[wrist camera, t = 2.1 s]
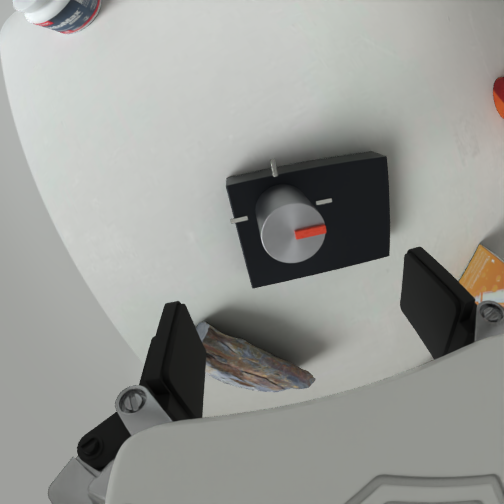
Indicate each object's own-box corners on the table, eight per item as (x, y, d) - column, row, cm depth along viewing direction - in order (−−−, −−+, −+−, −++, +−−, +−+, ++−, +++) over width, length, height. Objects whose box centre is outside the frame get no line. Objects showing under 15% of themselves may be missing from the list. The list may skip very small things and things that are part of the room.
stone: (159, 365, 32) (191, 341, 26) (170, 334, 36) (203, 302, 30) (268, 407, 37) (318, 392, 31) (271, 379, 41) (319, 359, 35)
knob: (261, 239, 25) (268, 271, 20) (250, 190, 23) (255, 212, 18) (311, 228, 24) (329, 257, 20) (303, 179, 22) (323, 198, 18)
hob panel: (247, 272, 30) (249, 290, 27) (219, 164, 24) (217, 171, 22) (377, 243, 29) (390, 256, 26) (370, 137, 24) (386, 142, 21)
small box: (478, 242, 30) (539, 293, 19) (496, 254, 31) (549, 301, 20) (451, 290, 33) (502, 349, 22) (471, 297, 35) (517, 350, 23)
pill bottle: (56, 42, 17) (1, 29, 9) (59, 2, 14) (10, -19, 6) (102, 24, 17) (53, -2, 9) (104, -17, 14) (63, -50, 6)
